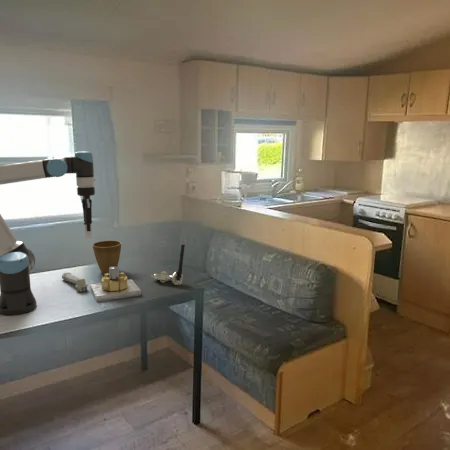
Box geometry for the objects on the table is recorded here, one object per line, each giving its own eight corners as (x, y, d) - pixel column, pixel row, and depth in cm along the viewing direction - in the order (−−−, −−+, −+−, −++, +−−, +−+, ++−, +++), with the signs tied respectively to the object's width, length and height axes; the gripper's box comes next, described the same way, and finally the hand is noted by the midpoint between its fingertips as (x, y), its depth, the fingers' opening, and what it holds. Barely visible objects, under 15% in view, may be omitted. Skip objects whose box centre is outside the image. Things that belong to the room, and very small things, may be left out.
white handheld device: (70, 271, 237) (88, 276, 217) (71, 284, 238) (89, 290, 218) (60, 273, 234) (77, 278, 214) (61, 286, 235) (79, 292, 215)
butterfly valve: (147, 281, 231) (173, 284, 221) (152, 242, 233) (178, 243, 224) (159, 282, 238) (185, 285, 228) (164, 244, 240) (189, 245, 231)
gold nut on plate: (96, 301, 204) (94, 275, 202) (90, 289, 220) (88, 265, 218) (140, 295, 212) (139, 270, 210) (131, 284, 228) (130, 260, 226)
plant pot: (98, 268, 255) (96, 240, 252) (125, 268, 255) (123, 240, 252) (90, 276, 241) (88, 246, 238) (118, 276, 241) (117, 246, 238)
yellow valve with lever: (127, 289, 211) (126, 278, 210) (101, 291, 209) (100, 280, 208) (127, 277, 230) (127, 266, 229) (103, 278, 228) (103, 268, 227)
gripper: (96, 187, 202) (99, 239, 207) (92, 184, 214) (94, 234, 218) (78, 188, 199) (82, 241, 204) (75, 185, 211) (78, 235, 215)
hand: (88, 237), depth 211 cm, fingers closed
